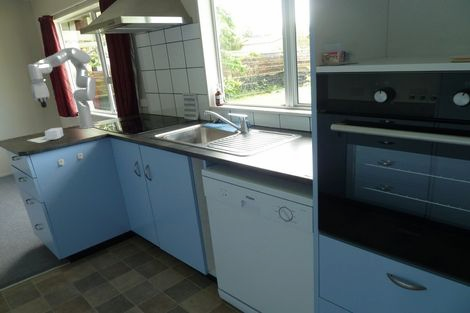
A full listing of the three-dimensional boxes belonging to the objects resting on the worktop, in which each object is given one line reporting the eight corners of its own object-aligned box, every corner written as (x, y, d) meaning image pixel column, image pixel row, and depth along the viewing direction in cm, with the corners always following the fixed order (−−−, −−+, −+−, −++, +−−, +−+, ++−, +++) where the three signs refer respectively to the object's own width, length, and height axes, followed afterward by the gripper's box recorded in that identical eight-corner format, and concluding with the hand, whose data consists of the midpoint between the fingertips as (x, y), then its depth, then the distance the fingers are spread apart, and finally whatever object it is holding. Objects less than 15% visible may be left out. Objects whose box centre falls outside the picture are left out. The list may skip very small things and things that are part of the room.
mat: (49, 136, 258) (49, 135, 258) (60, 137, 247) (60, 137, 247) (27, 141, 246) (26, 140, 246) (38, 143, 235) (37, 142, 235)
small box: (52, 136, 252) (46, 140, 240) (50, 128, 250) (44, 131, 238) (63, 135, 253) (58, 139, 241) (62, 127, 251) (56, 130, 239)
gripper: (46, 80, 247) (52, 105, 253) (24, 83, 236) (31, 109, 241) (50, 80, 243) (57, 105, 248) (29, 83, 231) (36, 109, 237)
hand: (44, 107), depth 245 cm, fingers closed
